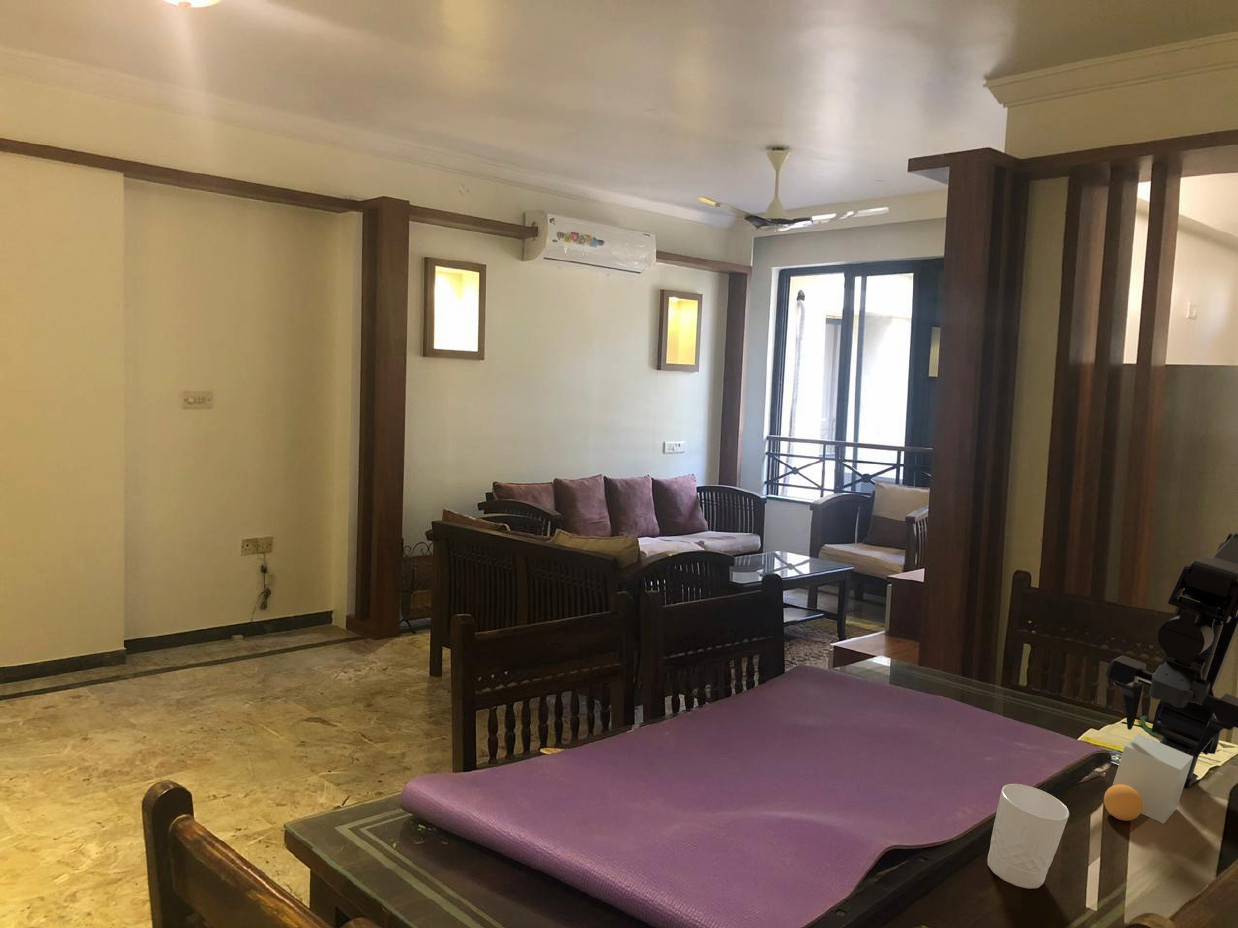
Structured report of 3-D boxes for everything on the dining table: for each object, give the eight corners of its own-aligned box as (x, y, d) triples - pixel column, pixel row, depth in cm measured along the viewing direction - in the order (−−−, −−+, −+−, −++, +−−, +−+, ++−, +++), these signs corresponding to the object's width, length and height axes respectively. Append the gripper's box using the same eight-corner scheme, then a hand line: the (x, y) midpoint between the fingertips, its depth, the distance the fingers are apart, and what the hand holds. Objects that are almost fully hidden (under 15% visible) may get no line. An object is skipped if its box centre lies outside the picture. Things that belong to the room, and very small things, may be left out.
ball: (1105, 804, 142) (1114, 774, 141) (1141, 821, 139) (1151, 790, 138) (1095, 813, 138) (1104, 783, 138) (1131, 831, 135) (1141, 800, 134)
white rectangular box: (1123, 784, 150) (1138, 733, 148) (1176, 808, 145) (1193, 756, 143) (1108, 798, 144) (1124, 745, 143) (1163, 823, 139) (1180, 769, 138)
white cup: (1036, 860, 123) (1056, 791, 121) (1056, 898, 115) (1078, 825, 113) (975, 847, 124) (994, 778, 122) (991, 883, 116) (1012, 810, 114)
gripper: (1109, 631, 140) (1080, 727, 143) (1254, 683, 128) (1220, 787, 131) (1130, 620, 148) (1103, 711, 151) (1269, 667, 136) (1236, 766, 139)
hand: (1162, 742), depth 143 cm, fingers open, 9 cm apart
